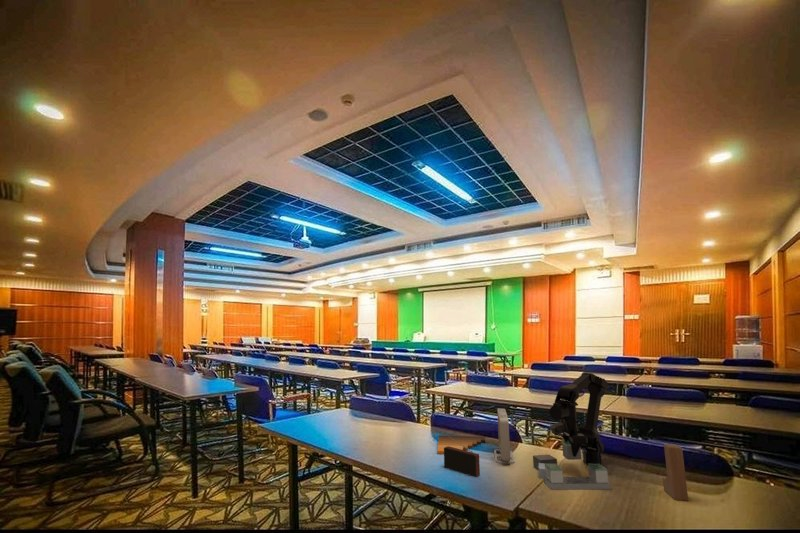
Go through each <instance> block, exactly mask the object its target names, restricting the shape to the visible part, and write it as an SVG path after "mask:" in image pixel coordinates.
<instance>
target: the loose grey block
mask: <svg viewBox="0 0 800 533" xmlns="http://www.w3.org/2000/svg"><path fill="white" fill-rule="evenodd" d="M539 463H545V464H557V465H558V458H556V457H554V456H553V455H550V454H538V455H532V465H533V466H532V467H533V468H534V469H535V470H537V471H538V472H539Z"/></svg>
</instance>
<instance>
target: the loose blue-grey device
mask: <svg viewBox="0 0 800 533" xmlns="http://www.w3.org/2000/svg"><path fill="white" fill-rule="evenodd" d="M544 477H545V463H539V471H538V479H541V478H543V479H542V480H544Z"/></svg>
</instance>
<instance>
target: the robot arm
mask: <svg viewBox="0 0 800 533" xmlns="http://www.w3.org/2000/svg"><path fill="white" fill-rule="evenodd" d="M608 384H609V383H608V381H607V380H606V379H605V378H602V377H601V376H598V375H595V373H591V372H582V373H581V375H580V376H578V377H577V378H576V379H575V380H574V381H572V382H571V383H569V384H565V385H562V386H560V387H559V388H558V391H557V393H556V397H555V400H554V402H553V403H552V406H551V407H550V409H549V410H548V411H549V416H550V417H551V418H552V419H553V420H554V421H559V422H556V423H553V424H550V425H549V429H550V432H551V434H552V435H554V436H560V437H561V438H562V439H563V442H569V443H570V444H571V449H572V454H573V456H574V457H576V455H577V453H578V451H579V449H580V447H581V449H583V452H582V457H583V458H582V462H583V461H584V462H583V463H585V464H586V463H587V464H601V465H604V464H603V463H602V453H604V450H605V445H604V444H603V442H602V441H601V436H600V433H599V431H598V421H599V415H600V410H601V409H600V407H601V401H602V398H603V397H604V395H606V394H607V390H608V386H609V385H608ZM585 388H586V389H587V391H588V393H589V397H588V404H587V410H586V418H585V424H584V426H580V427H579V429H578V424H579V423H580V422H579V420H578V418H577V406H579V404H578V403H577V402H576V401H578V399H579V397H580V393H581V392H582V391H583V390H585ZM587 464H586V465H587Z"/></svg>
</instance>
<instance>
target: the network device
mask: <svg viewBox="0 0 800 533" xmlns="http://www.w3.org/2000/svg"><path fill="white" fill-rule="evenodd" d="M496 410H497V434H498V446H499V448H496V449H494V450H493V455H494V461H495V463H498V464H506V465H513V464H515V462H516V460H515V458H514V454H513V451H512V450H511V448H510V447H511V445H510V424H509V423H510V421H509V418H508V414H507V411H506V409H505V408H496ZM497 452H499V453H497ZM498 458H500V459H501V460H498Z"/></svg>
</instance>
